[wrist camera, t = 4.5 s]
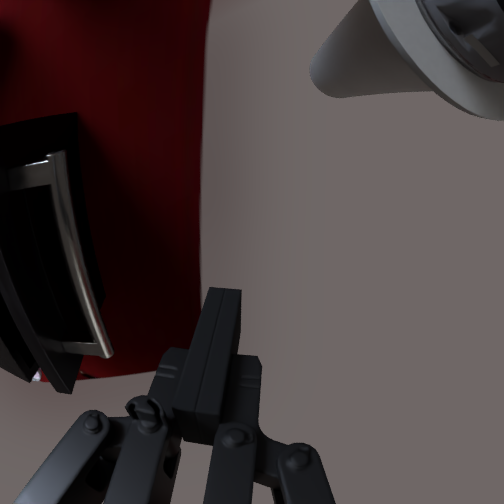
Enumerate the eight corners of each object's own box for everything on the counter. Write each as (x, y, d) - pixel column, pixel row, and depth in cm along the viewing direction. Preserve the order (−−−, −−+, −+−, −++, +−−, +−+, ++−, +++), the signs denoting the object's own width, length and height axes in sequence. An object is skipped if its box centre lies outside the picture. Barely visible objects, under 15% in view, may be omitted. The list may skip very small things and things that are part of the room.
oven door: (118, 104, 21) (34, 111, 9) (140, 295, 30) (117, 400, 18) (62, 114, 20) (-38, 138, 8) (94, 296, 29) (56, 392, 17)
